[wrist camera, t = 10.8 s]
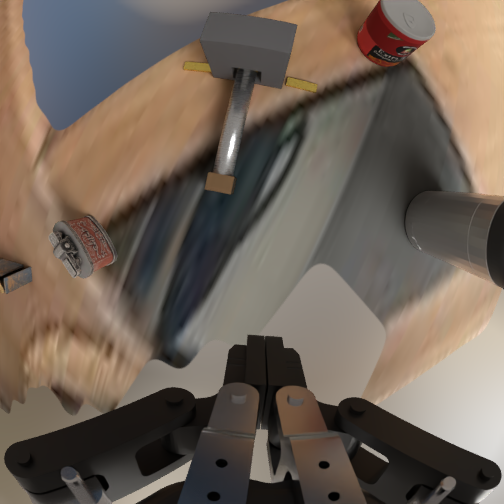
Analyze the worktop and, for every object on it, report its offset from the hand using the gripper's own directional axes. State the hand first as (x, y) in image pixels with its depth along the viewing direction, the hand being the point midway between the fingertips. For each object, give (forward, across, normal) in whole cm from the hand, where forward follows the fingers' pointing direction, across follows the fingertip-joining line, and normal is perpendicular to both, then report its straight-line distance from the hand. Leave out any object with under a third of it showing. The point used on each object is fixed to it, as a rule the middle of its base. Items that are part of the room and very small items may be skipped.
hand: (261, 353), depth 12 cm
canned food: (+26, -15, -32) cm, 44 cm away
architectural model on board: (+26, +44, +8) cm, 52 cm away
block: (+26, +3, -23) cm, 35 cm away
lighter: (+26, +23, +1) cm, 34 cm away
